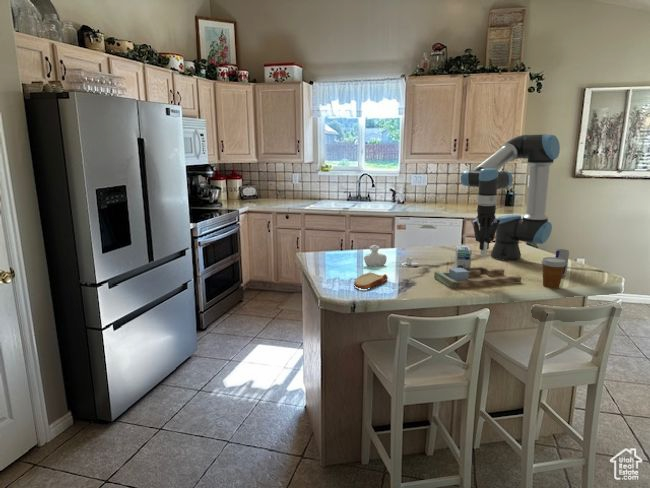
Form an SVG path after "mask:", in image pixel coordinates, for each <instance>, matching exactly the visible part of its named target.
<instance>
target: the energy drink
mask: <svg viewBox="0 0 650 488" xmlns="http://www.w3.org/2000/svg"><path fill="white" fill-rule="evenodd" d="M569 257H570V252H569V250H568V249H562V248H558V249H556V251H555V258H560V259H564V260H565V262H566V265H565V267H564V271H563V275H562V278H563V277H567V271H568V265H569Z"/></svg>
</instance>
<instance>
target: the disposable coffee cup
mask: <svg viewBox="0 0 650 488" xmlns="http://www.w3.org/2000/svg"><path fill="white" fill-rule="evenodd" d="M555 257H556V256H555ZM555 257H550V256H547V257H545V256H544V257H543V258H542V260H541V264H542V286H543V287H545V288H546V289H554V290H556V289H560V286H561V282H562V278H563V277H562V275H563V271H564V267H565V265H566V262H565V260H564V259H560V258H555Z"/></svg>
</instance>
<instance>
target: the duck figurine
mask: <svg viewBox="0 0 650 488" xmlns="http://www.w3.org/2000/svg"><path fill="white" fill-rule="evenodd" d="M380 248H381V246H378V245H376V244H372V245H371V246H369V247H368V249H369V250H370V252H371V253H367V254H366V255H364V256H363V261H364V263H365V265H366V266H367V267H368V266H369V267H381V266H384V265H386V264H387V259H388V258H387V256H386V254H383V253H381V252H380V253H379V249H380Z"/></svg>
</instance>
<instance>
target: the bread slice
mask: <svg viewBox="0 0 650 488" xmlns="http://www.w3.org/2000/svg"><path fill="white" fill-rule="evenodd" d="M386 280H388V275H387V274H386V273H384V274H383V275H379V274H377V273H375V272H371V271H369V272H367V273H364V274H361V275H359V276H357V277H356V280H354V282H353V286H354V285H355V286H356V287H358V288H361V289H368V288H372V287H375V286H377V287H379V286H380V285H382V284H383V283H385V282H386ZM378 285H379V286H378ZM375 288H376V287H375Z"/></svg>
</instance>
